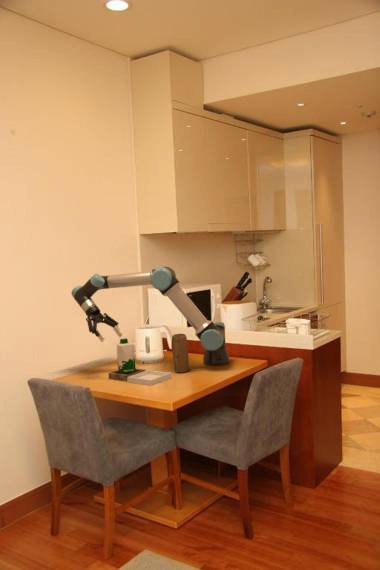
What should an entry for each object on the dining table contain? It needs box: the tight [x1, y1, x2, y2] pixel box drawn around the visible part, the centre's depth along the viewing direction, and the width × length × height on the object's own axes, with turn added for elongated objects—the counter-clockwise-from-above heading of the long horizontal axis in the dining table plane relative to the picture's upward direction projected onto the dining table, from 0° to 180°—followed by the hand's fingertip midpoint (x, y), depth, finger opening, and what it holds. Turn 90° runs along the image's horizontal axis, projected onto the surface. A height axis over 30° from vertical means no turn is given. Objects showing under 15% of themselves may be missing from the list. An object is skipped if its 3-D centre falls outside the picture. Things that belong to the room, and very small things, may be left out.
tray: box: [126, 369, 173, 386], centre depth 279 cm, size 16×16×3 cm
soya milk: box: [116, 338, 137, 375], centre depth 287 cm, size 9×9×20 cm
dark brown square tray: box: [108, 367, 147, 382], centre depth 288 cm, size 14×14×3 cm
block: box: [171, 333, 190, 373], centre depth 293 cm, size 11×8×20 cm
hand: (112, 338), depth 291 cm, fingers open, 13 cm apart
